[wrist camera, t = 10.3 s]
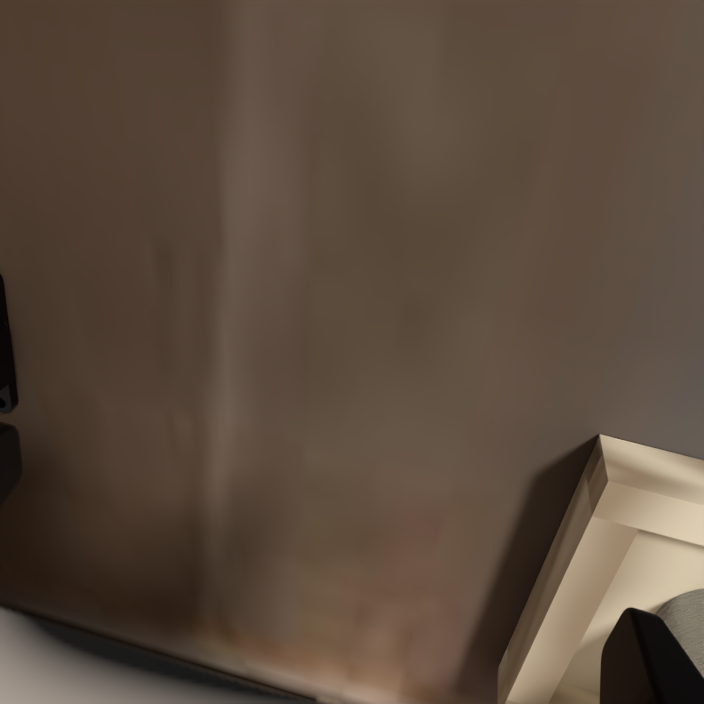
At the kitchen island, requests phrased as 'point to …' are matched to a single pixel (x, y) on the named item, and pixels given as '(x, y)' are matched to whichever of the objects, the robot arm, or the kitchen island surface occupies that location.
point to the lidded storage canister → (687, 623)
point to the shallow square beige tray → (606, 569)
